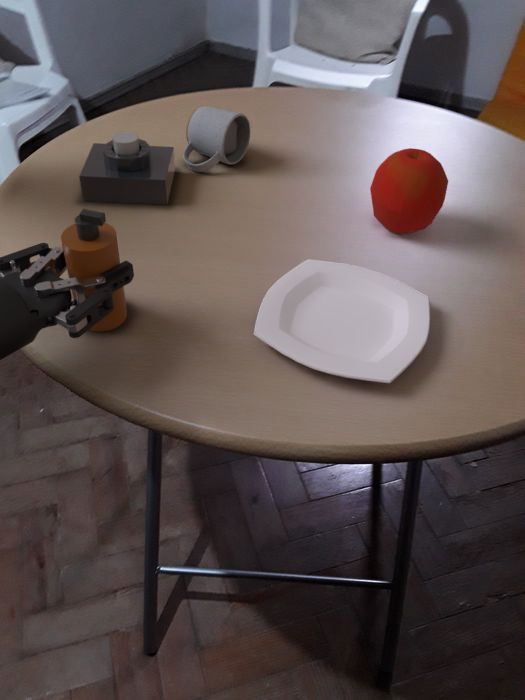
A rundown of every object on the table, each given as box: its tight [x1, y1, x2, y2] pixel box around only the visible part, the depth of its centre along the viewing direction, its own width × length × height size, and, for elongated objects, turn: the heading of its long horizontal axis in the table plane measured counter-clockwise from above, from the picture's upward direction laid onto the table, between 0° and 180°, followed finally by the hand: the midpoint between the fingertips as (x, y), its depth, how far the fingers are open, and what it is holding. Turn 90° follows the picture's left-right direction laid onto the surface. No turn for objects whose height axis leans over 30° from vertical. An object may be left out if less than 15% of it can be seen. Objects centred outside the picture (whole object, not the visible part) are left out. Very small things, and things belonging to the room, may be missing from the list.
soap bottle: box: [60, 208, 128, 332], centre depth 68 cm, size 6×6×14 cm
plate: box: [253, 258, 431, 384], centre depth 73 cm, size 19×19×2 cm
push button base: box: [78, 138, 176, 206], centre depth 92 cm, size 12×10×6 cm
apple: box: [369, 147, 449, 235], centre depth 85 cm, size 10×10×12 cm
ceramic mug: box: [182, 105, 252, 173], centre depth 98 cm, size 11×8×8 cm
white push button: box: [112, 130, 140, 155], centre depth 89 cm, size 4×4×2 cm
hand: (112, 256), depth 69 cm, fingers closed on soap bottle, 5 cm apart
